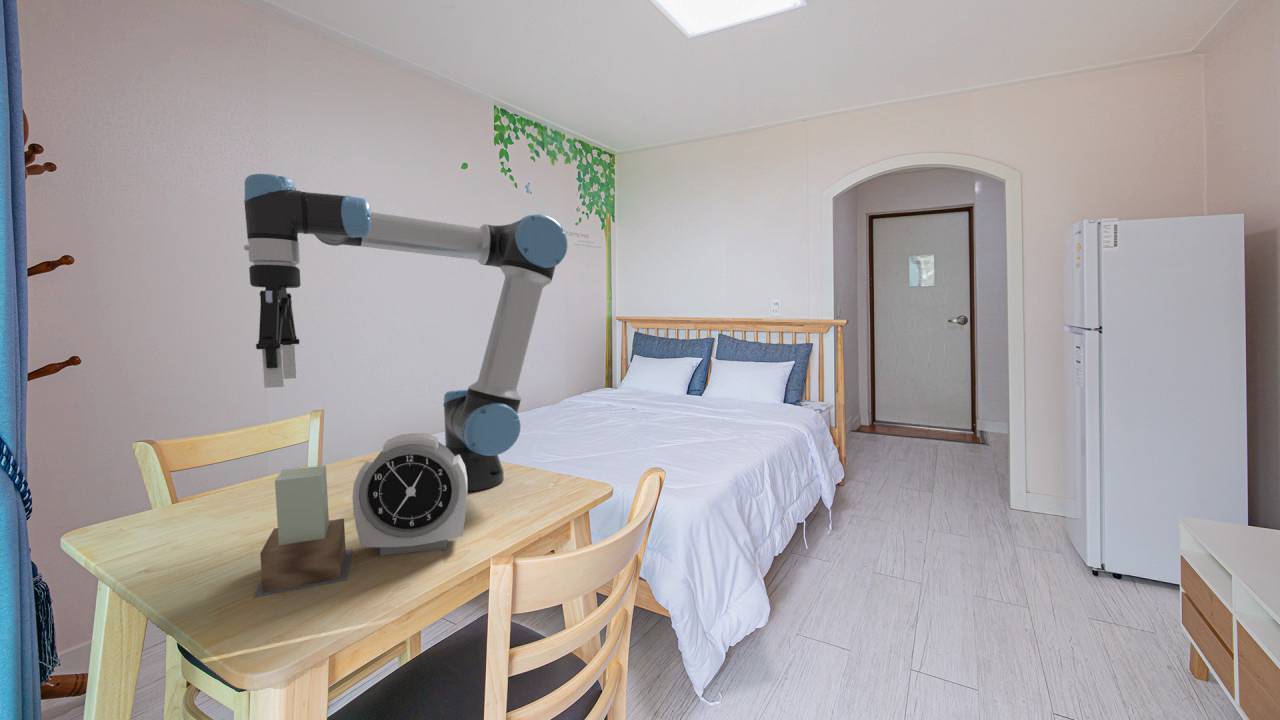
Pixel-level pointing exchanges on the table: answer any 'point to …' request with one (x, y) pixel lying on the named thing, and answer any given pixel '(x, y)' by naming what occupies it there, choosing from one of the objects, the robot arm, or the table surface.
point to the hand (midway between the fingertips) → (281, 382)
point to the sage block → (302, 504)
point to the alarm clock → (410, 496)
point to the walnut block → (303, 559)
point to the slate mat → (343, 578)
